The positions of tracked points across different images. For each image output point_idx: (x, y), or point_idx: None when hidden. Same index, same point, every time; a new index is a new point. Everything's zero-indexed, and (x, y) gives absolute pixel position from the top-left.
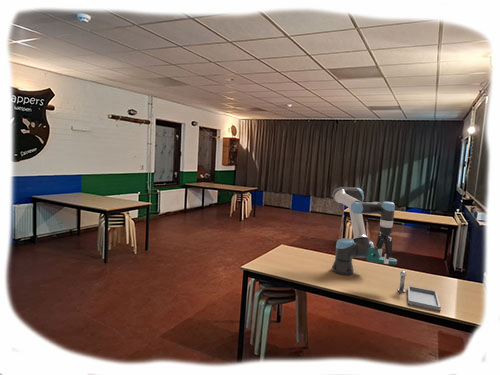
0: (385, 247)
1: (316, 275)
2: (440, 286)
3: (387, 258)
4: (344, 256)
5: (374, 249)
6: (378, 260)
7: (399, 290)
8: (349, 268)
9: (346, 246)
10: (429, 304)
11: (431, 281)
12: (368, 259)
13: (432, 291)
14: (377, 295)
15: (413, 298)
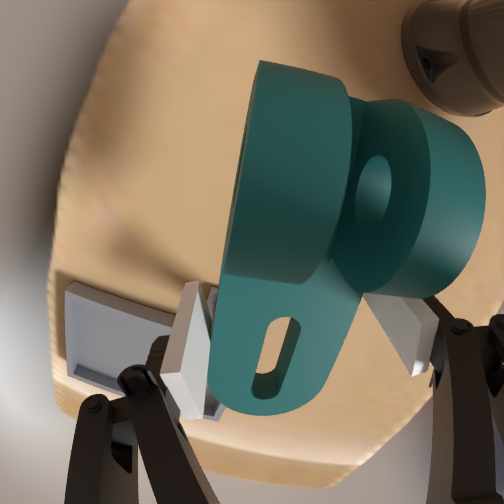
0: (173, 469)
1: None
2: (304, 435)
3: (156, 348)
4: (487, 15)
5: (311, 220)
6: (227, 231)
7: (209, 295)
8: (440, 68)
9: None
10: (68, 352)
11: (348, 423)
12: (251, 93)
13: (215, 410)
14: (122, 155)
15: (136, 325)
